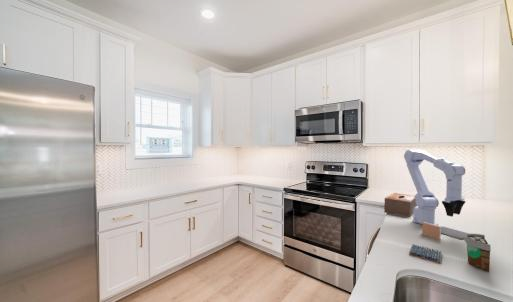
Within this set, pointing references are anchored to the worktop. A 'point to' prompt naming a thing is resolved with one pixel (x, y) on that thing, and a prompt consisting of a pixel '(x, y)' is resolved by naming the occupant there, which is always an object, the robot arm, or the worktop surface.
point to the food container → (478, 251)
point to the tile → (431, 230)
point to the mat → (453, 233)
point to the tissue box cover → (400, 204)
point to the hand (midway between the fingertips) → (453, 215)
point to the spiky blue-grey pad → (426, 253)
